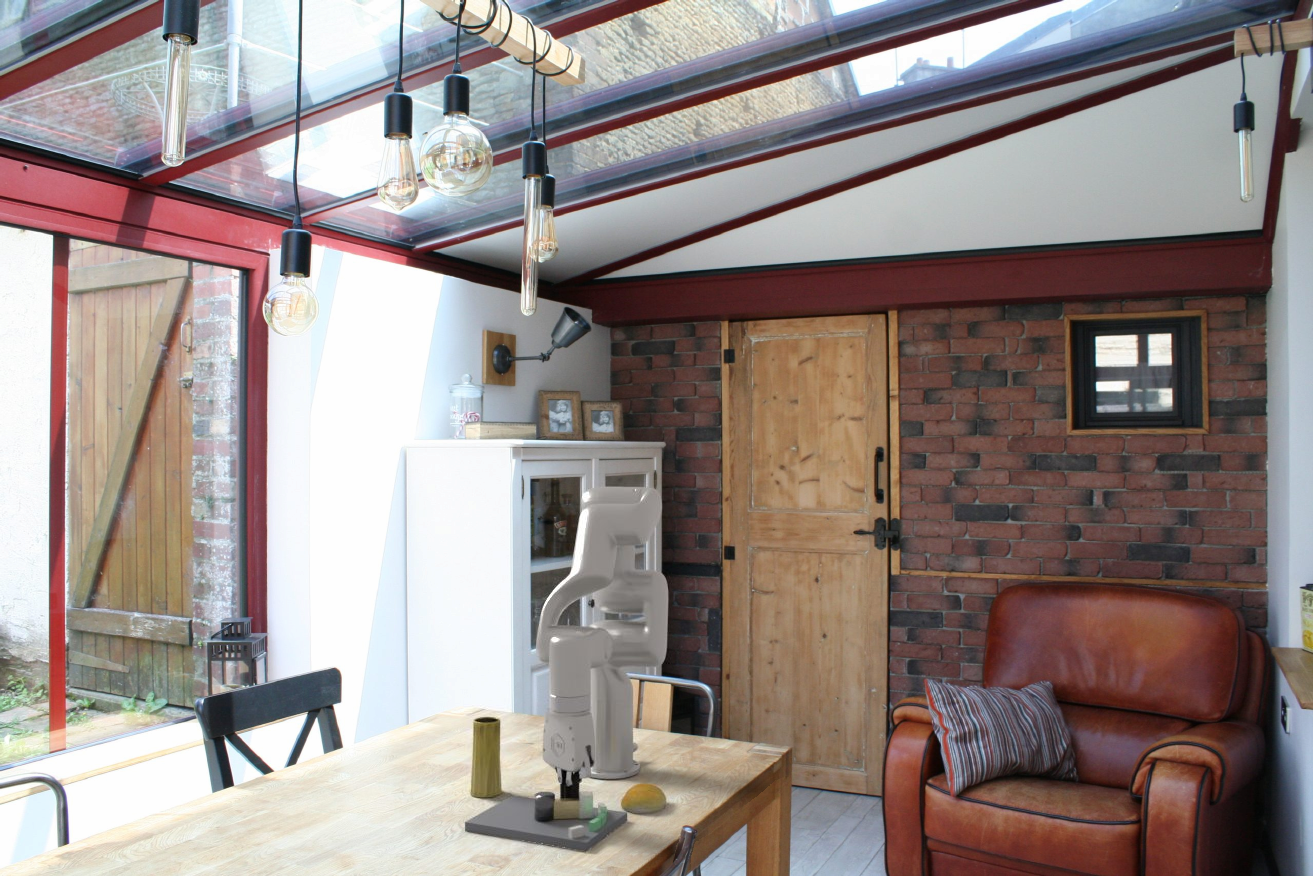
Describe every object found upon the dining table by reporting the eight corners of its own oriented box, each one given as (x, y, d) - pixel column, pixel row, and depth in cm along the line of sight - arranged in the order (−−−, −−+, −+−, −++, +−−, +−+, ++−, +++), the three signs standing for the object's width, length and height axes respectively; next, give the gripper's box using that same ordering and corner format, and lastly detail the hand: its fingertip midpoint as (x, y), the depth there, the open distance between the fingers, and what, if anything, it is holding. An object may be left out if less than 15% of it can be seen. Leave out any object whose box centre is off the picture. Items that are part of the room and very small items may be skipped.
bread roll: (617, 814, 182) (617, 792, 182) (628, 799, 190) (628, 778, 190) (661, 817, 180) (661, 795, 180) (669, 801, 189) (669, 780, 189)
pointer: (534, 821, 172) (534, 798, 172) (534, 814, 175) (534, 792, 176) (593, 819, 173) (593, 796, 173) (591, 812, 177) (592, 790, 177)
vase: (495, 799, 189) (495, 724, 190) (465, 797, 190) (466, 722, 191) (506, 789, 195) (506, 717, 196) (477, 787, 196) (478, 715, 197)
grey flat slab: (512, 803, 187) (513, 787, 187) (627, 821, 177) (627, 804, 177) (464, 830, 172) (465, 813, 172) (586, 851, 163) (586, 833, 163)
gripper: (528, 699, 180) (528, 800, 180) (580, 714, 170) (580, 821, 169) (560, 692, 186) (560, 790, 185) (612, 706, 175) (612, 810, 175)
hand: (569, 805), depth 177 cm, fingers closed
